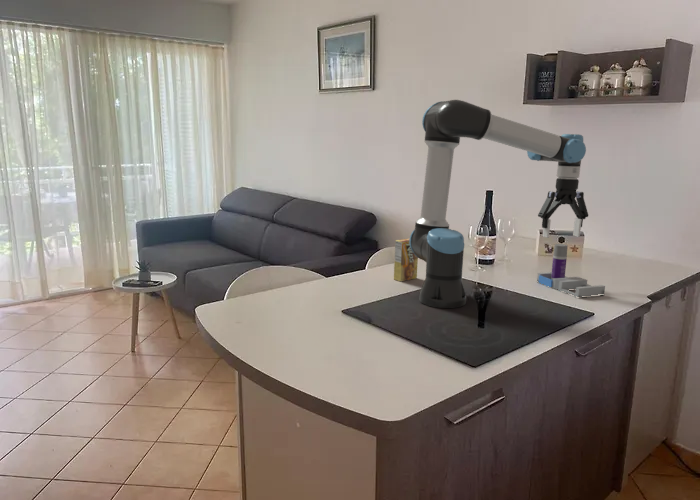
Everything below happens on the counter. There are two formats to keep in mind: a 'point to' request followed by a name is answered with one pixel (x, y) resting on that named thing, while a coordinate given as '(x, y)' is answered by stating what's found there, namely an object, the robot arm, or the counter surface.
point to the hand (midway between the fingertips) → (561, 236)
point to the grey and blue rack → (570, 285)
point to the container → (559, 261)
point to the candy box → (404, 261)
